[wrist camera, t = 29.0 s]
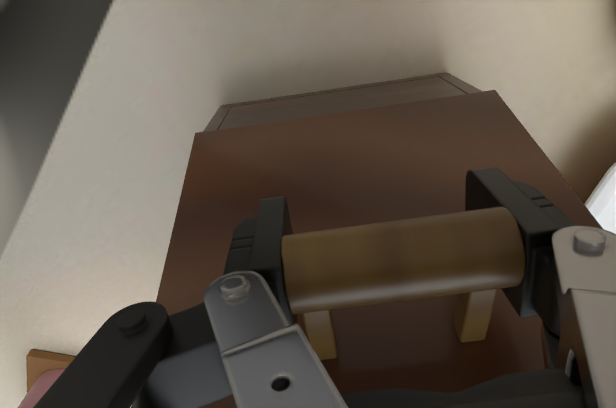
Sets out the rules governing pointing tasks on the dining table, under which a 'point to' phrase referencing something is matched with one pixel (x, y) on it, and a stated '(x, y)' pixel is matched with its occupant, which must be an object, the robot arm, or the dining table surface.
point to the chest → (339, 100)
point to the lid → (378, 237)
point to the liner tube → (40, 387)
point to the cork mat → (44, 364)
